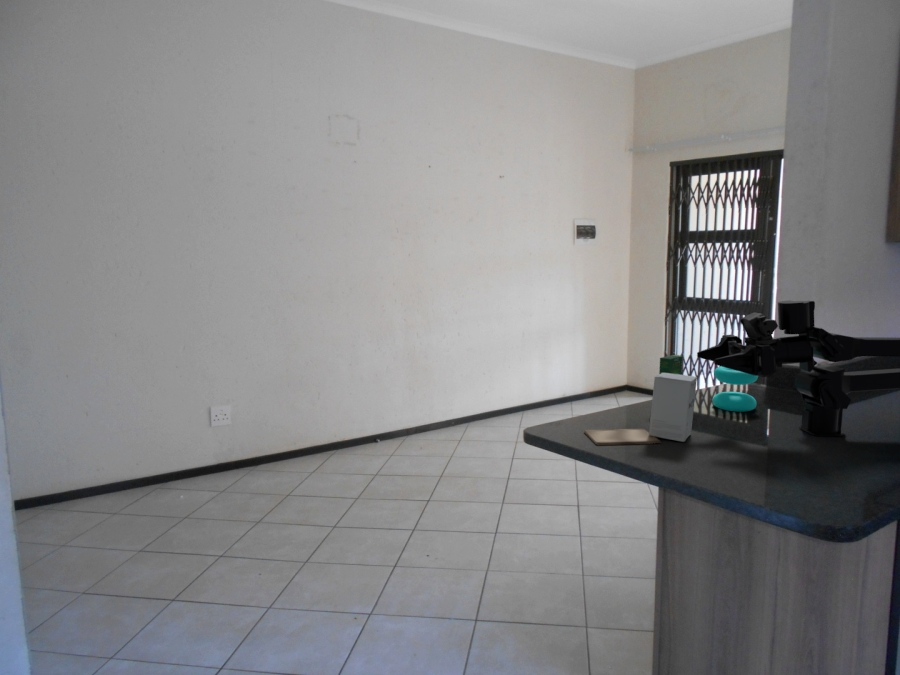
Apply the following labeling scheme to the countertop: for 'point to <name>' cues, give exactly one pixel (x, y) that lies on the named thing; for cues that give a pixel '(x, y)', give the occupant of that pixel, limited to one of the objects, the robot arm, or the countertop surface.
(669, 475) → the countertop surface
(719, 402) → the donuts
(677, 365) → the coffee box
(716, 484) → the countertop surface
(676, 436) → the supplement box
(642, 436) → the wooden board
